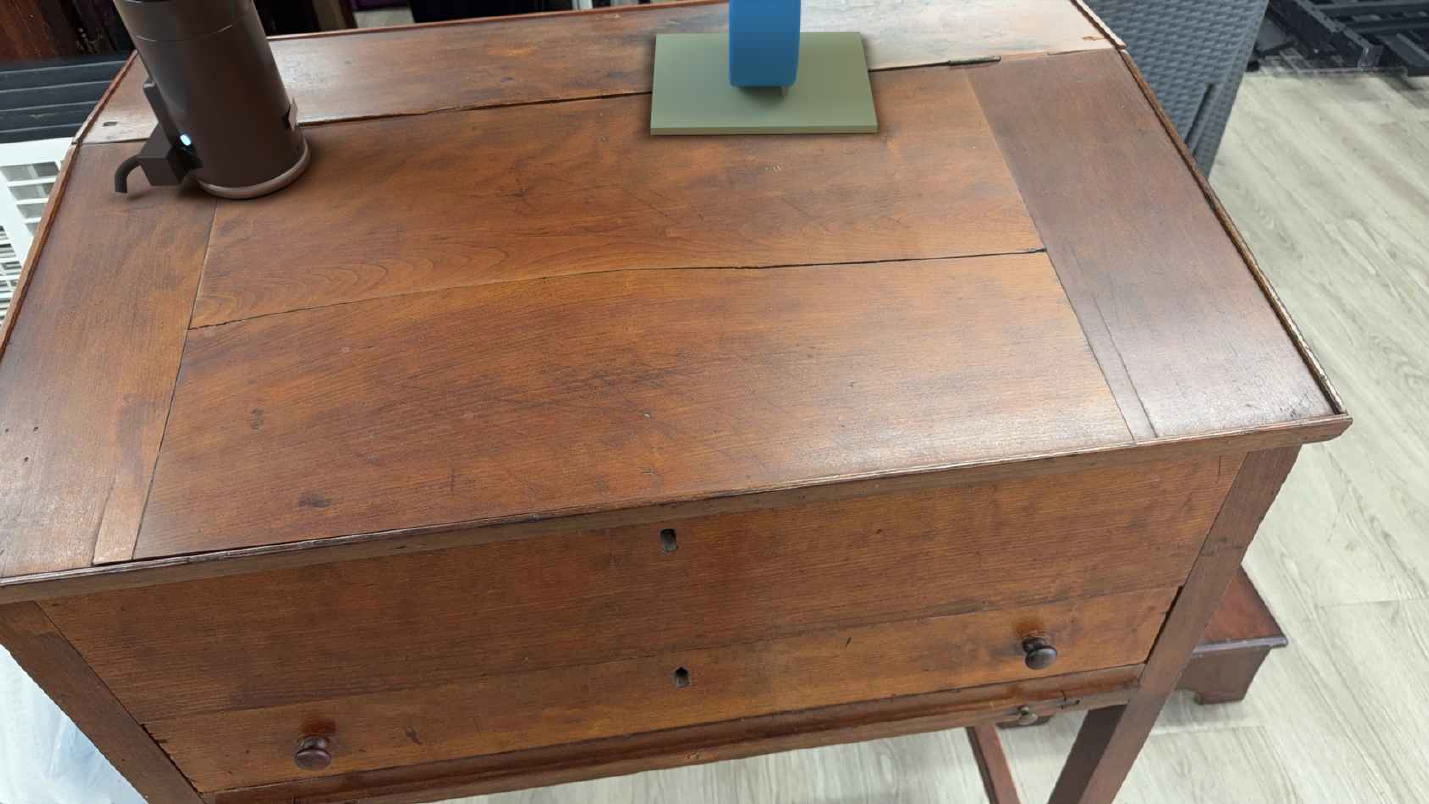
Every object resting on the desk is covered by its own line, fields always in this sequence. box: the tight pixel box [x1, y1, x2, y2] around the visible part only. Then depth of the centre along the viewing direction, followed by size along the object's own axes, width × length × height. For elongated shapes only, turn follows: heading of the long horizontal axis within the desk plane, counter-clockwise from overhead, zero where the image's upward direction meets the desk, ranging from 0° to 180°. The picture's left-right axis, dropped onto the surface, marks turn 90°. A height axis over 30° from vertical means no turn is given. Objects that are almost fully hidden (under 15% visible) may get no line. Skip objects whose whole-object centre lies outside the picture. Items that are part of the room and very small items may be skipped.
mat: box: [650, 31, 879, 136], centre depth 95 cm, size 20×16×1 cm
